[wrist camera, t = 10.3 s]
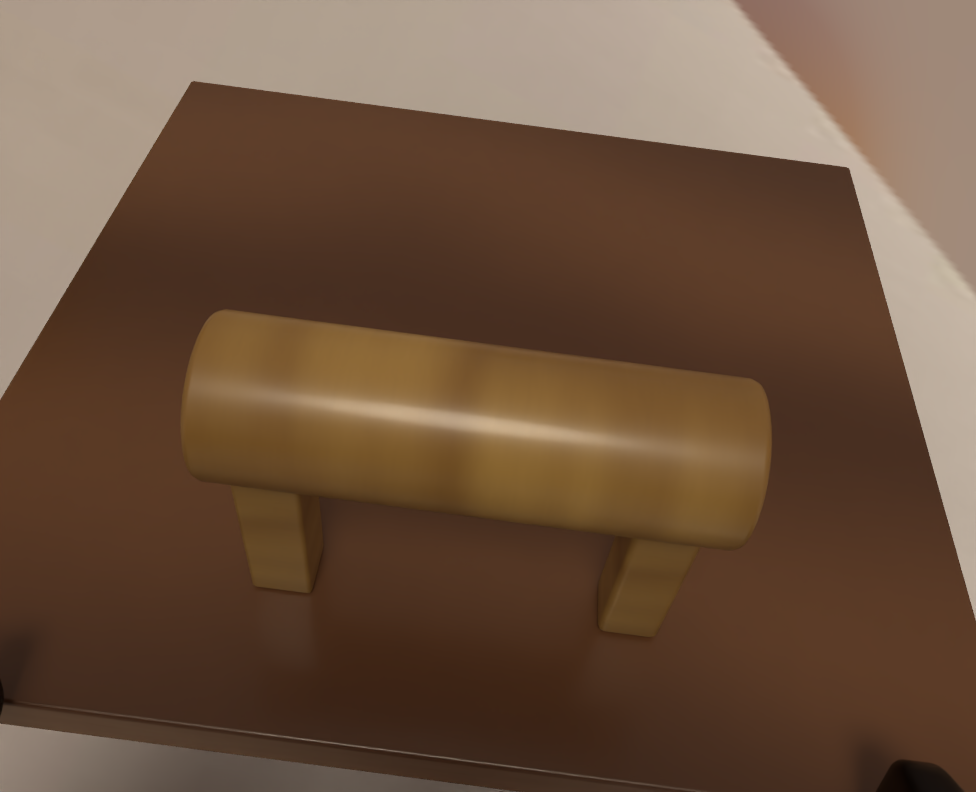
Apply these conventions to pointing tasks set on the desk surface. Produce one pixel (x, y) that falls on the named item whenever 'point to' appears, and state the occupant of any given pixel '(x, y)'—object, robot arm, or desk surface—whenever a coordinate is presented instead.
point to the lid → (481, 466)
